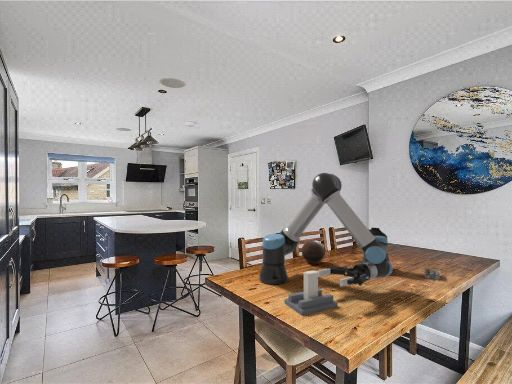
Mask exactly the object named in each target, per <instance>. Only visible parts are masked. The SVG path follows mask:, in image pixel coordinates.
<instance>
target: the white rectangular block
mask: <svg viewBox="0 0 512 384" xmlns="http://www.w3.org/2000/svg"><path fill="white" fill-rule="evenodd" d="M316 271H317V270H308V271H303V292H304V299H309V298H314V297H318V289H319V276H318V271H317V272H316Z"/></svg>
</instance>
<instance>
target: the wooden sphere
mask: <svg viewBox="0 0 512 384" xmlns="http://www.w3.org/2000/svg"><path fill="white" fill-rule="evenodd" d="M301 254H302V255H301V256H302V258H303V259H304V260H305V261H306V262H307V263H309V264H318V263H320V262H321V261H323V259H324V258H325V255H326V251H325V246H324V245H323V244H322V243H321V242H320V241H319V240H316V239H315V240H314V239H309V240H308V241H305V242H304V244H303V245H302V247H301Z"/></svg>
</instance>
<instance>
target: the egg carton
mask: <svg viewBox="0 0 512 384" xmlns="http://www.w3.org/2000/svg"><path fill="white" fill-rule="evenodd" d="M423 272H424V278H425V279H428V280H429V279H432V280H441V278H440V277H441V276H440V275H441V270H434V269H433V270H431V269H430V268H427V267H424V271H423Z"/></svg>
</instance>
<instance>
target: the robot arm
mask: <svg viewBox="0 0 512 384" xmlns="http://www.w3.org/2000/svg"><path fill="white" fill-rule="evenodd" d="M311 186H312V188H311V190H310V192H311V194H310V196H309V197H308V198H307V200H306V202H305V203H304V204H303V205H302V207H301V208H300V209H299V211H298V212H297V213H296V215H295V216H294V217H293V219H292V220H291V222H290V223H289V225H288V226H287V227H283V228H282V229H281V231H280V232H279V233H272V234H266V235H264V237H263V239H262V245H261V246H262V265H261V270H260V273H259V276H258V278H259V279H258V280H259V282H261V283H264V284H267V285H283V284H285V283H287V282H288V281H289V280H288V279H289V276H288V272H287V270H286V266H285V265H286V264H285V262H286V261H285V256H287V255H289V254H292V253H293V252H295V250H296V249H297V247H298V244H299V243H300V241H301V238H300V237H301V236H302V234H303V233H304V232H305V230H306V229H307V228H308V226H310V224H311V222H312V221H313V220H314V219H315V217H316V216H317V215H318V213H319V212H320V211H321V209H322V208H323V207H324V206H325V204H326V205H327V206H328V207H329V208H330V210H331V211H332V212H333V214H334V215H335V216H336V217H337V219H338V220H339V222H340V223H341V224H342V225H343V227H344V228H345V230H347V231H348V234H350V235H351V237H352V238H353V240H354V241H355V242H356V243H357V245H358V247H360V248H361V250H362V252H363V254H364V253H365V255H366V258H367V260H368V261H369V262H366V263H356V264H354V266H353V267H348V266H327V267H326V268H324V269H319V270H317V272H318V278H319V277H326V276H331V275H340V276H344V277H345V278H344V277H343V278H340V279H339V286H340V287H345V286H349V285H350V286H351V285H353V284H354V285H358V287H359V286H363V284H364V283H365V282H367V281H370V280H373V279H378V278H385V277H388V276H389V275H391V274H392V273H393V271H394V269H393V265H392V263H391V262H389V261H390V260H389V261H388V259H387V257H389V250H388V249H389V247H388V246H389V241H388V240H389V239H388V237H387V238H386V237H384V236H373V235H372V234H371V232H370V231H369V230H368V229H369V228H368V227H367V226H366V225H365V224H364V222H363V221H362V219H360V217H359V216H358V214H357V213H356V212H355V211H354V210H353V208H351V206H350V205H349V204H348V203H347V202H346V200H345V198H344V197H343V196H342V195H341V190H342V187H343V184H342V181H341V179H340V178H339V177H338V176H337V175H335V174H333V173H328V172H321V173H318V174H317V175H315V176H314V178H313V180H312V183H311Z"/></svg>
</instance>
